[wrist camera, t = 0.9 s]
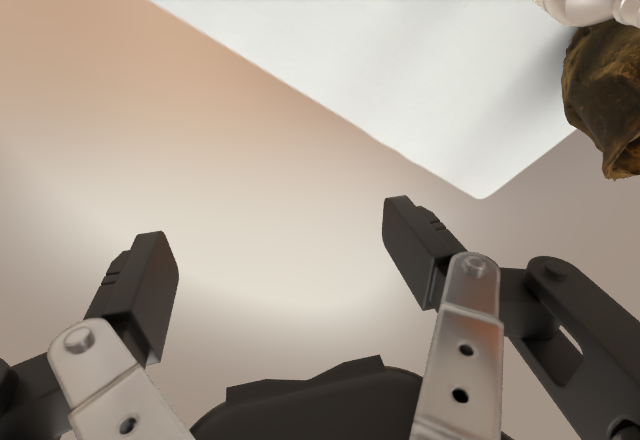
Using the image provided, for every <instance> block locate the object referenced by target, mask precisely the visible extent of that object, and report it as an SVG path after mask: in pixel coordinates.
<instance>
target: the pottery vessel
mask: <svg viewBox="0 0 640 440" xmlns="http://www.w3.org/2000/svg"><path fill="white" fill-rule="evenodd" d="M566 54H567V57H566V58H565V59H564V61H565V62H564V61H563V63H564V65H563V74H562V78H561V84H562V98H563V103H564V111H565V116H566V118H567V121H568V122H569V124H570V125H572V126H574V127H576V128H578V129H579V130H581V131H582V132H584V133H585V134H587V135H588V136H589V137H590V138H591V139H592V140H593V142H594V143H595V146H596V147H597V148H598V149H599V150H600V151H602V152H603V164H602V171H603V173H604V176H605V178H607V179H611V178H612V179H613V180H614V181H615V180H616V179H618V178H625V177H626V178H627V176H628V177H631V176H634V175H640V28H637V27H635V26H633V25H624V24H622V23H620V22H618V21H616V19H615V18H612V19H610V20H607V21H604V22H601V23H597V24H594V25H590V26H584V27H581V28H580V29H579V30H578V31H577V32H576V34H575V36H574V37H573V40H572V43H571V45H570V46H569V47H568V48H567V49H566ZM629 175H630V176H629Z"/></svg>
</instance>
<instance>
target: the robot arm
mask: <svg viewBox="0 0 640 440" xmlns="http://www.w3.org/2000/svg"><path fill="white" fill-rule="evenodd" d="M382 238H383V242H384V245H385V248H386V249H387V251H388V253H389V254H390V256H391V258H392V259H393V261H394V263H395V265H396V266H397V268H398V270H399V271H400V273H401V275H402V276H403V278H404V280H405V282H406V283H407V285H408V287H409V288H410V290H411V292H412V294H413V295H414V297H415V299H416V300H417V302H418V304H419V305H420V307H421V309H422V310H423V311H425V310H430V309H435V310H436V312H437V313H438V315H437V320H436V325H435V328H434V333H433V337H432V341H431V345H430V350H429V354H428V358H427V363H426V367H425V371H424V375H423V377H421V376H419V375H417V374H415V373H413V372H410V371H408V370H404V369H401V368H396V367H390V366H384V364H383V362H382V359H381V357H380V355H375V356H371V357H366V358H362V359H357V360H352V361H348V362H344V363H342V364H340V365H338V366H336V367H334V368H332V369H330V370H328V371H326V372H324V373H322V374H320V375H318V376H316V377H314V378H312V379H309V380H275V379H274V380H273V379H265V380H260V381H255V382H251V383H246V384H242V385H237V386H232V387H228V388H227V390H226V392H227V393H226V401H225V402H223V403H221V404H220V405H218V406H216V407H215V408H213V409H212V410H210V411H209V412H208V413H207V414H205V415H204V416H203V417H202V418H200V419H199V420H198V421H197V422H196V423H195V424H194V425H193V426H192V427H191V428H190V430H188V428H187V427H186V426H185V424H184V423H183V422H182V420H181V419H180V418H179V416H178V415H177V413H176V412H175V411H174V410H173V408H172V407H171V405H170V404H169V403H168V401H167V400H166V398H165V397H164V396H163V394H162V393H161V392H160V391H159V389H158V388H157V386H156V385H155V384H154V382H153V381H152V379H151V378H150V377H149V375H148V374H147V373H146V371H145V367H146V365H151V364H156V363H160V361H161V357H162V352H163V348H164V344H165V339H166V335H167V330H168V326H169V321H170V317H171V312H172V308H173V304H174V299H175V295H176V290H177V286H178V281H179V273H178V267H177V263H176V261H175V258H174V256H173V253H172V251H171V248H170V246H169V243H168V241H167V238H166V236H165V234H164V232H162V231H157V232H150V233H144V234H138V235H137V236H136V238H135V240H134V242H133V245H132V247H131V249H130V250H128V251H123V252H122V253H121V254H120V255H119V256H118V257H117V258H116V259H115V260H114V261H112V263H111V265H110V267H109V269H108V271H107V273H106V276H105V277H104V279H103V281H102V283H101V286H100V287H99V289H98V291H97V293H96V295H95V297H94V299H93V301H92V303H91V305H90V307H89V309H88V311H87V313H86V315H85V317H84V319H83V321H80V322H78V323H75V324H74V325H72V326H70V327H68V328H67V329H66V330H64V331H63V332H61V333H60V334H59V335H58V336H57V337H56V338H55V339H54V341H53V342H52V343H51V345H50V346H49V348H48V351H47V352H46V353H43V354H41V355H38V356H36V357H34V358H31V359H29V360H26V361H24V362H22V363H19V364H17V365H14V366H12V367H10V366H9V365H8V364H7V363H6V362H5V361H4V360H3V359H1V358H0V440H60V438H61V435H62V434H64V433H66V432H68V431H70V430H72V429H73V431H74V433H75V436H76V438H77V440H514V439H512V438H511V437H509V436H508V435H507V434H505V433H504V432H502V431H501V416H502V415H501V414H502V381H503V346H504V336H506V337H508V338H509V339H510V341H511V342H512V344H513V345H514V346H515V348H516V349H517V351H518V352H519V353H520V355H521V356H522V357H523V359H524V360H525V362H526V363H527V364H528V366H529V367H530V369H531V370H532V371H533V373H534V374H535V375H536V377H537V378H538V380H539V381H540V382H541V384H542V385H543V387H544V388H545V389H546V391H547V392H548V394H549V395H550V396H551V398H552V399H553V400H554V402H555V403H556V405H557V406H558V407H559V409H560V410H561V412H562V413H563V415H564V416H565V417H566V419H567V420H568V421H569V423H570V424H571V426H572V427H573V428H574V430H575V431H576V433H577V434H578V435H579V437H580V438H581V440H640V322H639V321H638V320H637V319H636V318H635V317H633V316H632V315H631V314H630V313H629V312H628V311H626V310H625V309H624V308H623V307H622V306H621V305H619V304H618V303H617V302H616V301H615V300H614V299H612V298H611V297H610V296H609V295H608V294H607V293H605V292H604V291H603V290H602V289H601V288H600V287H598V286H597V285H596V284H595V283H594V282H593V281H591V280H590V279H589V278H588V277H587V276H586V275H585V274H583V273H582V272H581V271H580V270H579V269H578V268H576V267H575V266H573V265H572V264H570V263H568V262H566V261H564V260H561V259H558V258H555V257H549V256H538V257H535V258H533V259H531V260H530V261H529V263H528V265H527V268H526V269H514V268H500V267H499V266H498V265H497V264H496V263H495V262H494V261H493V260H492V259H490V258H489V257H487V256H485V255H482V254H479V253H475V252H468V251H467V250H466V249H465V248H464V247H463V245H462V244H461V243H460V242H459V241H458V240H457V239H456V238H455V237H454V235H453V234H452V233H451V232H450V231H449V230H448V229H446V227H445V226H444V224H443V223H442V222H440V220H439V219H438V218H437V217H436V216H435V215H434V213H433V212H431V211H429V210H427V209H426V208H424V207H422V206H417V207H416V206H415V205H414V204H413V202H412V201H411V200H410V199H409V198H408V197H407V196H406V195H403V196H397V197H390V198H386V199H385V201H384V209H383V223H382ZM560 325H562V326H563V327H564V328H565V329H566V330H567V332H568V333H569V334H570V335H571V336H572V337H573V338H574V339H575V340H576V342H577V343H578V344H579V346H580V347H581V350H582V352H583V355H582V354H581V353H580V352H579V351H578V350H577V348H575V346H574V345H573V344H572V343H571V342H570V341H569V340H568V338H567V337H566V336H565V335H564V334H563V333H562V332H561V331H560V329H559V327H560Z"/></svg>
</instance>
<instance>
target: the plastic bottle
mask: <svg viewBox="0 0 640 440" xmlns="http://www.w3.org/2000/svg"><path fill="white" fill-rule="evenodd" d="M533 1H534V2H535V3H537V4H538V5H539V6H540V7H541V8H542V9H543V10H544V11H546V12H547V13H548V14H549V15H550V16H551V17H552V18H554V19H555V20H557V21H558V22H559V23H561V24H564V25H567V26H580V27H584V26H590V25H594V24H597V23H601V22H604V21H607V20H610V19H612V18H615V19H616V21H618V22H620V23H622V24H624V25H633V26H635V27H637V28H640V0H533Z"/></svg>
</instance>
